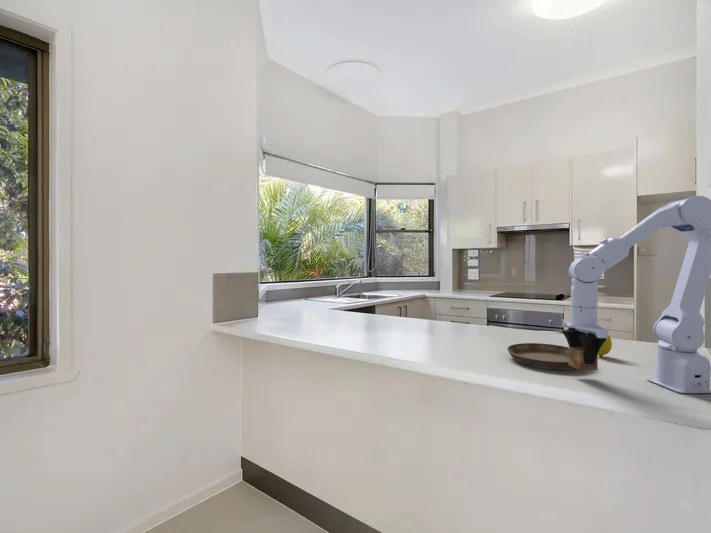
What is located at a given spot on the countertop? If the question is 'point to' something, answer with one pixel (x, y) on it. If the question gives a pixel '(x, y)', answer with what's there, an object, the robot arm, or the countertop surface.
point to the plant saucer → (541, 355)
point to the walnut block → (580, 359)
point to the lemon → (605, 347)
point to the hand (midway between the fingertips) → (582, 360)
